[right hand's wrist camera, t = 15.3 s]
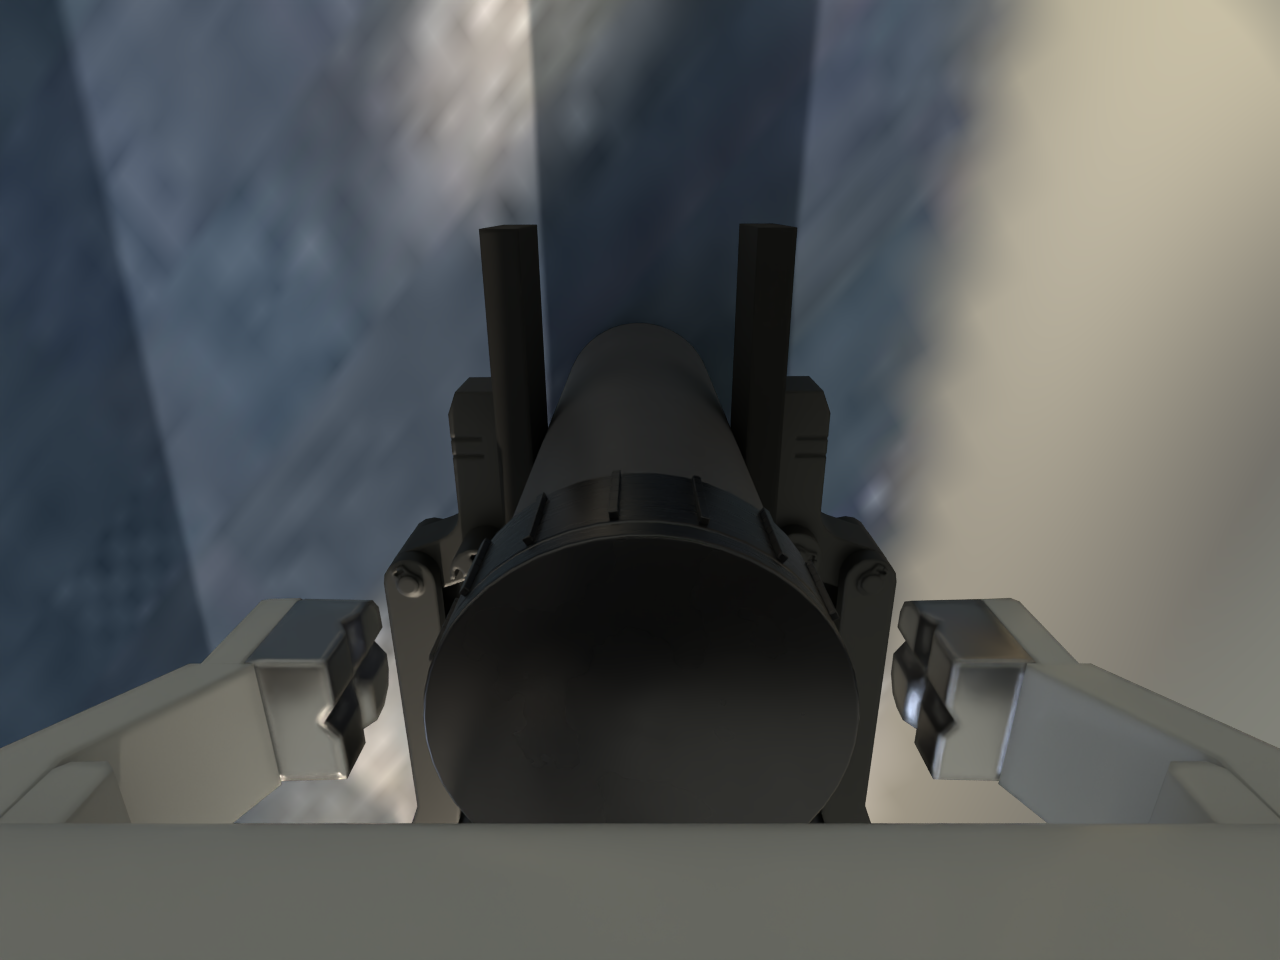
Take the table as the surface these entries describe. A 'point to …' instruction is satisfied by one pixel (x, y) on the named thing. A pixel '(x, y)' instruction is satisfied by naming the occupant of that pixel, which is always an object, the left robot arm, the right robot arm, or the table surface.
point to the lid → (641, 665)
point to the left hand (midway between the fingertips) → (638, 228)
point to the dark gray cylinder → (639, 417)
